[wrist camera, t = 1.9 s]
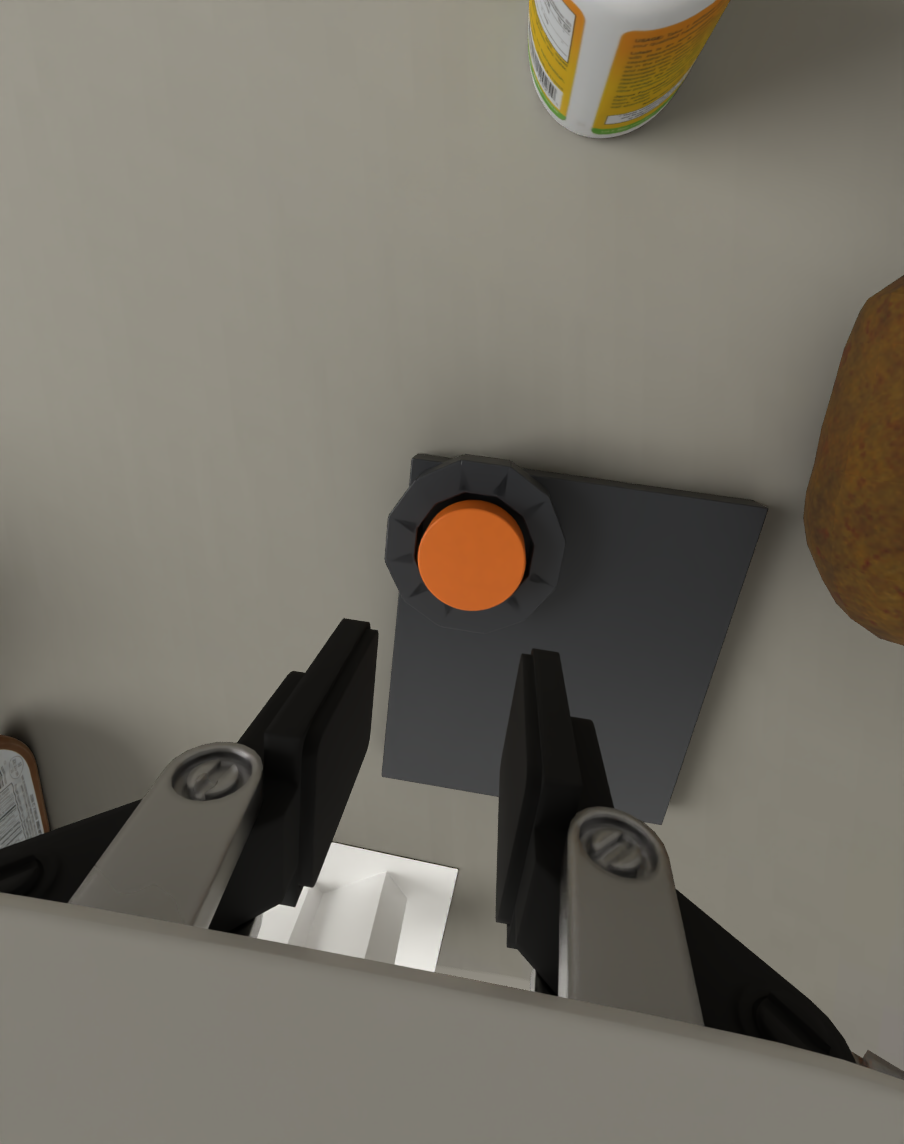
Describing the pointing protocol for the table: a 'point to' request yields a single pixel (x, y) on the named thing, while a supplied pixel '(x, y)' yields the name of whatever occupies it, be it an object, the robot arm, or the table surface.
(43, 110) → the table surface
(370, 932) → the napkin holder
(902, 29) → the table surface
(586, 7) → the supplement bottle
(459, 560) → the button
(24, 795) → the tin
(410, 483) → the dark grey button base
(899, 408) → the potato
